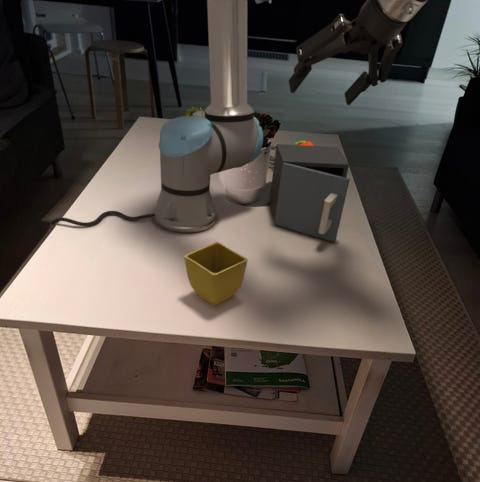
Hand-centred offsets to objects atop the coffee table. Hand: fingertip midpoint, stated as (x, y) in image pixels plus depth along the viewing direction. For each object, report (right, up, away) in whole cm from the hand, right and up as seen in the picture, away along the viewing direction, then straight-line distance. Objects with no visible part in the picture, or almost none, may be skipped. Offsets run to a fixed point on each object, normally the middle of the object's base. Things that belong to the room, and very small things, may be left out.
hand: (319, 93), depth 96 cm
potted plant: (-31, +15, +67) cm, 75 cm away
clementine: (+4, +6, +61) cm, 61 cm away
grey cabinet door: (-1, -26, +20) cm, 32 cm away
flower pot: (-21, -41, -2) cm, 47 cm away
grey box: (0, -17, +30) cm, 35 cm away
